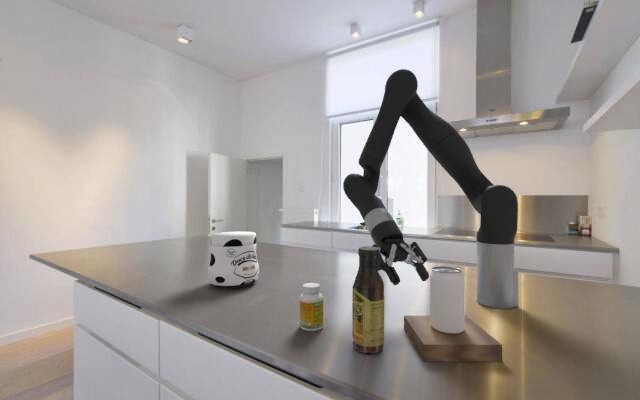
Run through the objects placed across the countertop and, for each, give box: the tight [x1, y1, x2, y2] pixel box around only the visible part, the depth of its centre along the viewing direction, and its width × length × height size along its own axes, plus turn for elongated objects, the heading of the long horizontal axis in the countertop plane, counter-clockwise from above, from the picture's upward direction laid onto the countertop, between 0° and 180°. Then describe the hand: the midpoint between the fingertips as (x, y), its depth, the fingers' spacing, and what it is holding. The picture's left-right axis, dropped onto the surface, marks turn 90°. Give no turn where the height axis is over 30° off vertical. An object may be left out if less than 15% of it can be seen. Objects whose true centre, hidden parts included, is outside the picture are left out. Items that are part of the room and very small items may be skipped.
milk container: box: [207, 231, 260, 289], centre depth 107 cm, size 17×17×18 cm
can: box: [429, 265, 466, 334], centre depth 62 cm, size 6×6×12 cm
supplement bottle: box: [299, 282, 324, 332], centre depth 70 cm, size 5×5×10 cm
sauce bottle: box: [351, 245, 385, 354], centre depth 60 cm, size 7×6×20 cm
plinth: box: [403, 315, 503, 363], centre depth 61 cm, size 14×14×3 cm
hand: (412, 281), depth 71 cm, fingers open, 8 cm apart
